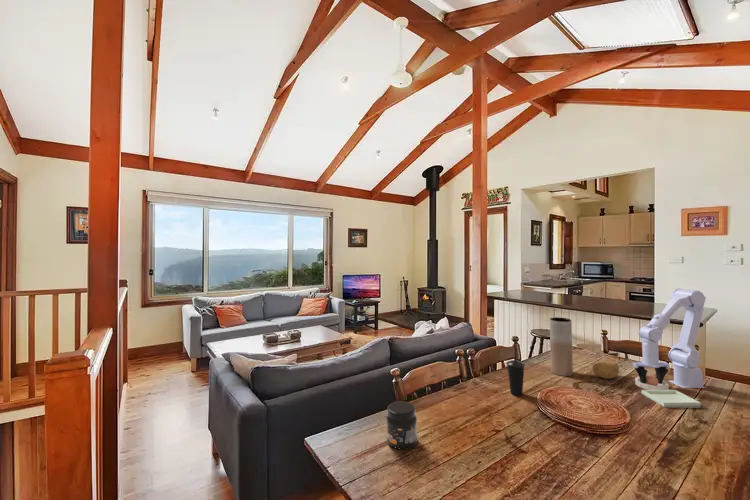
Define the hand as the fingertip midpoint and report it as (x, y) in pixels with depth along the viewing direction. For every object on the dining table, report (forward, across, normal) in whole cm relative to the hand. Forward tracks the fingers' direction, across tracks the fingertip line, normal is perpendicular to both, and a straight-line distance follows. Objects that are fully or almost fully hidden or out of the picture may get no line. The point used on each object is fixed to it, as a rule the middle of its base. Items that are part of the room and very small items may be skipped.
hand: (651, 383), depth 151 cm
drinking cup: (+2, -63, -7) cm, 63 cm away
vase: (+2, -31, +18) cm, 36 cm away
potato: (+2, -13, +11) cm, 17 cm away
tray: (+2, -3, -14) cm, 14 cm away
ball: (+1, 0, 0) cm, 1 cm away
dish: (+2, 0, 0) cm, 2 cm away
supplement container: (+2, -115, -45) cm, 124 cm away
